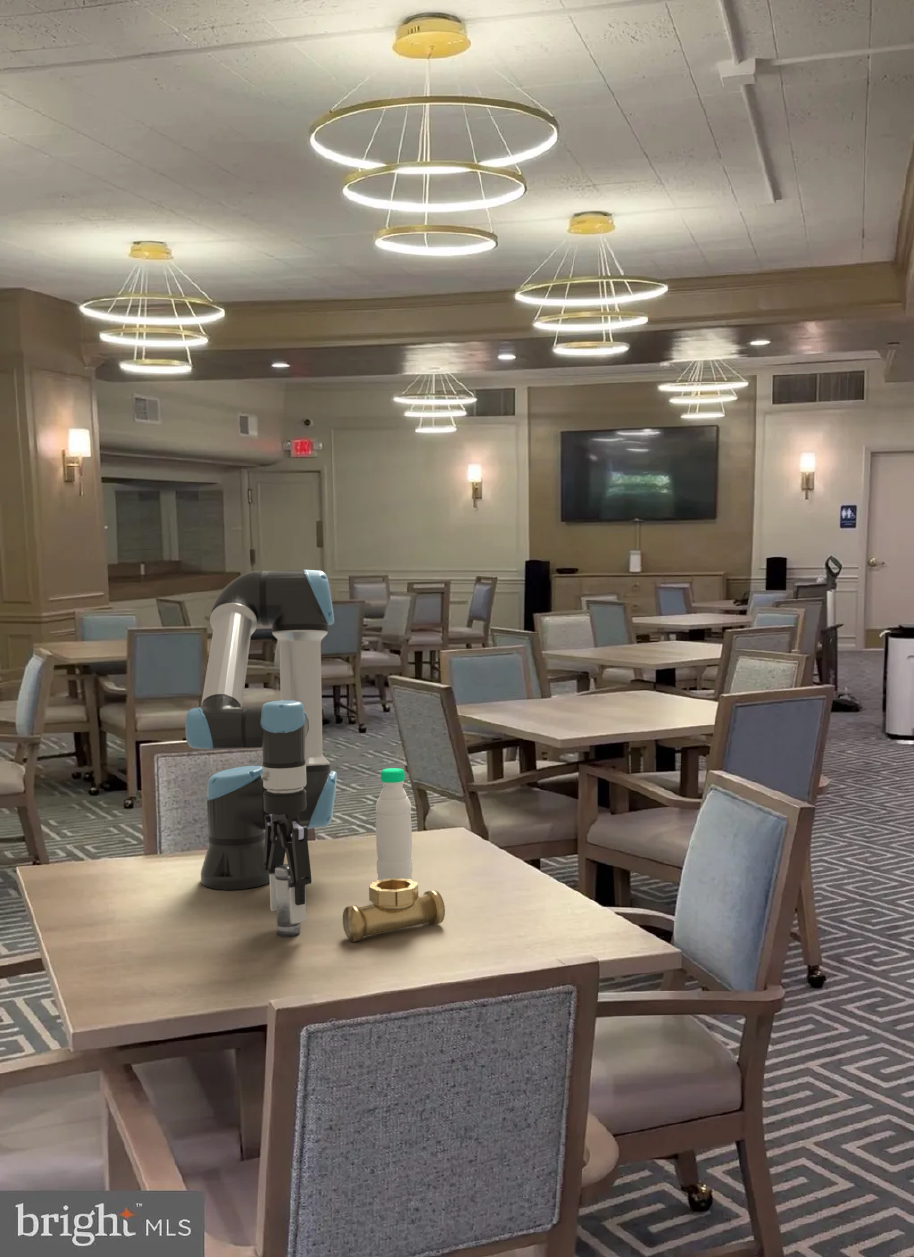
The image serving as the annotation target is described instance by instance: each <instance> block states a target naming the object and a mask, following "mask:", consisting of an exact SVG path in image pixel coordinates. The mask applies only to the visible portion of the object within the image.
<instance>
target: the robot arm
mask: <svg viewBox="0 0 914 1257" xmlns="http://www.w3.org/2000/svg"><path fill="white" fill-rule="evenodd" d="M330 589H331V588H330V583H329V579H328V575H327V574H326V572H324V571H322V570H315V569H287V570H284V569H283V570H252V571H249V572H245V573H243V574H242V575H239V576H238V577H236V578H235V579H233V580H232V581H231V582H229V583H228V584H227V585H226V586H225V587H224V588H223V589H222V590H221V592H220V593H219V594H218V595H217V597H216V599H215V601H214V603H213V605H212V608H211V610H210V617H209V624H210V627H211V629H212V635H211V642H210V648H209V656H208V660H207V668H206V672H205V673H206V674H205V680H204V686H203V692H202V698H201V704H200V706H198V707H194V708H190V709H188V711H187V713H186V716H185V739H186V742H187V745H188V746H189V748H192V749H199V750H210V751H211V750H221V749H243V748H247V749H249V748H250V749H252V748H254V749H255V748H261V749H262V751H261V752H262V766H261V765H244V766H238V767H234V768H229V769H224V770H222V771H219V772H216V773H214V774H212V775H211V776H210V777H209V778H208V779H207V782H206V784H207V786H206V787H207V788H206V790H207V791H206V796H205V798H206V799H205V801H206V802H207V803H206V804H207V805H206V806H207V833H208V837H207V838H208V845H207V846H208V847H207V848H206V849H207V850H206V854H205V856H204V861H203V864H202V867H201V870H200V883H201V885H203V886H204V887H206V888H209V889H213V890H226V891H231V890H232V891H233V890H245V889H251V888H252V889H253V888H256V887H261V886H264V885H267V884H269V902H270V904H269V907H270V908H269V909H270V911H272V912H273V911H277V909H276V878H275V867H276V866H279V865H284V864H285V857H286V860H287V864H288V867H289V872H290V877H291V882H292V883H291V884H289V885H288V887H289V891H290V923H292V924H294V923H299V922H300V923H303V922H307V898H306V897H307V896H306V893H307V892H306V891H307V889H306V886H307V885H309V884H312V883H313V882H312V881H313V879H312V873H311V862H310V850H309V843H308V842H309V841H308V840H309V839H308V836H309V833H308V832H309V830H311V829H317V828H326V827H328V826H329V825H330V824H331V823H332V821H333V815H334V808H335V802H336V801H335V800H336V793H337V781H338V780H337V779H338V773H337V771H334V770H331V762H330V761H329V760H328V759H327V758H326V757H325V756H324V754H323V750H324V749H323V706H322V705H323V703H322V702H323V700H322V698H323V697H322V696H323V695H322V646H321V642H322V641H323V639H324V638H325V637H326V636H327V635H328V633H329V632H328V630H329V628H328V626H331V625H334V624H335V616H334V607H333V602H332V593H331V590H330ZM259 626H265V627H266V626H267V627H268V626H270V627H272V628H271V631H272V632H271V634H272V635H273V637H275V639H276V640H277V641H278V642H279V679H280V680H279V682H280V684H279V686H280V687H279V688H280V689H279V690H280V694H279V695H280V700H272V701H268V702H267V701H266V702H265V703H263V704H262V706H243V701H244V694H245V684H246V677H247V671H248V670H247V669H248V660H249V652H250V647H251V646H250V644H251V637H252V635H253V633H254V632H256V630H257V627H259Z"/></svg>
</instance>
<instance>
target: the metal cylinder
mask: <svg viewBox="0 0 914 1257" xmlns="http://www.w3.org/2000/svg"><path fill="white" fill-rule="evenodd" d="M275 878H276V909H277V910H276V935H277V936H278V937H281V938H294V937H297V936H299V935H300V933H301V922H299V923H294V924H292V923H290V891H289V887H288V885H289V884H291V883H292V882H291V877H290V872H289V867H288V863H286V864H285V863H284V864H283V865H279V866H276V867H275Z"/></svg>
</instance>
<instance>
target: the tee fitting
mask: <svg viewBox="0 0 914 1257" xmlns="http://www.w3.org/2000/svg"><path fill="white" fill-rule="evenodd" d="M377 880H378V879H377ZM377 880H375V881H372V883H370V884H369V885H368V899H369V901H370V902H372V904H371V905H365V906H361V907H359V906H358V905H349V906H346V907H345V908H344V909H343V912H342V928H343V931H344V934H345V936H346V938H347V940H348V941H350V942H352V943H355V942H359V941H362V940H363V939H364V937H368V936H373V935H377V934H382V933H383V934H384V933H387V932H392V931H396V930H403V929H406V928H411V927H416V926H421V925H425V924H428V925H431V926H434V925H439V924H440V925H441V924H442V923H443V922H444V920H445V916H446V909H445V908H446V906H445V903H444V902H445V901H444V899H443V896H442V895H441V894H440V892H439V891H438V890H435V889H432V890H428V891H427V890H426V891H424V892H423V894H422V895H419V882H417V881H414V880H413V879H412V880H410V879H401V878H392V879H391V878H388V879H383V880H378V881H377Z"/></svg>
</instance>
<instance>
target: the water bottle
mask: <svg viewBox="0 0 914 1257" xmlns="http://www.w3.org/2000/svg"><path fill="white" fill-rule="evenodd" d="M405 777H406V774H405V770H404V769H403V768H398V767H390V768H388V767H387V768H384V769H382V770H381V771H380V781H381V784H382V789H381V791H380V793H379V797H378V798H377V801H376V803H375V812H376V819H375V820H376V821H375V838H376V839H375V840H376V841H375V843H376V854H377V861H376V873H377V879H376V881H378V880H383V879H388V878H391V879H392V878H401V879H410V880H413V860H412V850H413V840H412V839H413V838H412V836H413V832H412V818H411V817H412V816H411V815H412V814H411V810H412V804H411V800H410V799H409V797H408V794H407V793H406V790H405V789H404V787H403V786H404V785H403V784H404V783H405V780H406V779H405Z"/></svg>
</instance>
